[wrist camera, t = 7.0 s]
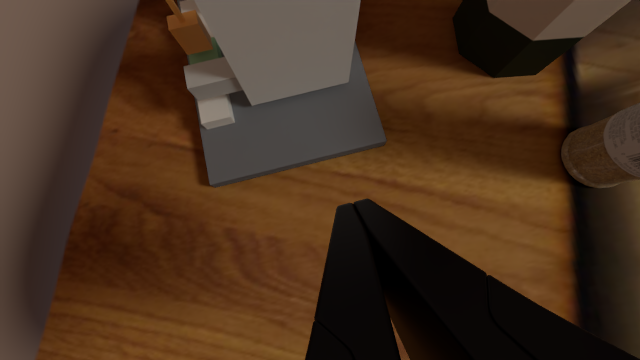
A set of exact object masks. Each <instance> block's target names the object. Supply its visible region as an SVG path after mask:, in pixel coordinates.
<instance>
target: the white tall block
mask: <svg viewBox="0 0 640 360" xmlns="http://www.w3.org/2000/svg"><path fill="white" fill-rule="evenodd" d="M194 1H195V3H196V5H197V7H198V8H199V10H200V12H201V14H202V16H203V17H204V19H205V21H206V23H207V25H208V27H209V28H210V30H211V32H212V34H213V36H214V38H215V39H216V41H217V43H218V45H219V47H220V48H221V50H222V52H223V54H224V56H225V57H222V58H217V59H213V60H209V61H205V62H200V63H196V64H192V65H188V66H183V67H184V73H185V79H186V84H187V89H188V90H189V91H190V92H191V93H192V94H193V96H194V97H195V98H196V99H197V100H198V101H199V100H204V99H208V98H212V97H216V96H220V95H225V94H229V93H233V92H237V91H241V90H244V92H245V94H246V96H247V98H248V100H249V101H250V103H251V105H252V106H253V105H257V104H261V103H265V102H269V101H274V100H278V99H282V98H286V97H290V96H294V95H298V94H303V93H307V92H311V91H315V90H319V89H323V88H327V87H332V86H336V85H340V84H344V83H348V82H349V76H350V69H351V62H352V55H353V49H354V42H355V35H356V28H357V22H358V15H359V8H360V2H361V0H194Z"/></svg>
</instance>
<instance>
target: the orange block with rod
mask: <svg viewBox="0 0 640 360" xmlns="http://www.w3.org/2000/svg"><path fill="white" fill-rule="evenodd" d="M165 1H166V2H167V4H168V5H169V7H170V8H171V10H172V11H173V13H174V14H175V15H170V16H167V22H168V28H169V31H170V32H171V34H172V35H173V36H174V38H175V39H176V40H177V42H178V43H179V44H180V46H181V47H182V48H183V50H184V51H185V53H186V54H187V55H190V54H194V53H199V52H203V51H207V50H211V49H213V46H212V41H211V37H210V35H209V33H208V31H207V29H206V28H205V26H204V24H203V22H202V21H201V19H200V17H199V15H198V14H197V12H196V10H192V11H188V12H184V13H181V11H180V10H179V8H178V7H177V5H176V4H175V2H174V0H165Z"/></svg>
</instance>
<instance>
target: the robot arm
mask: <svg viewBox="0 0 640 360" xmlns="http://www.w3.org/2000/svg"><path fill="white" fill-rule="evenodd" d="M390 318H391V319H390ZM314 319H315V321H314V322H313V326H312V331H311V336H310V340H309V345H308V349H307V353H306V357H305V360H401V358H400V354H399V350H398V346H397V342H396V339H395V335H394V331H393V327H392V323H391V320H392V322H393V324H394V326H395V328H396V331H397V333H398V335H399V337H400V339H401V341H402V343H403V345H404V348H405V350H406V352H407V354H408V356H409V358H410V360H640V359H638V358H636V357H635V356H633V355H631V354H629V353H627V352H625V351H623V350H621V349H619V348H618V347H616V346H614V345H612V344H610V343H608V342H606V341H604V340H602V339H601V338H599V337H597V336H595V335H593V334H591V333H589V332H587V331H586V330H584V329H582V328H580V327H578V326H576V325H574V324H573V323H571V322H569V321H567V320H565V319H563V318H562V317H560V316H558V315H556V314H554V313H553V312H551V311H549V310H547V309H545V308H544V307H542V306H540V305H538V304H537V303H535V302H533V301H532V300H530V299H528V298H527V297H525V296H523V295H522V294H520V293H518V292H517V291H515V290H513V289H512V288H510V287H508V286H507V285H505V284H504V283H502V282H500V281H499V280H497V279H496V278H494V277H492V276H491V275H488V276H487V274H486V272H484V271H483V270H481V269H479V268H478V267H476V266H475V265H473V264H471V263H470V262H468V261H467V260H465V259H464V258H462V257H460V256H459V255H457V254H456V253H454V252H452V251H451V250H449V249H448V248H446V247H445V246H443V245H441V244H440V243H438V242H437V241H435V240H433V239H432V238H430V237H429V236H427V235H425V234H424V233H422V232H421V231H419V230H418V229H416V228H414V227H413V226H411V225H410V224H408V223H406V222H405V221H403V220H402V219H400V218H399V217H397V216H395V215H394V214H392V213H391V212H389V211H387V210H386V209H384V208H383V207H381V206H379V205H378V204H376V203H375V202H373V201H372V200H370V199H363V200H359V201H356V202H354V204H352V203H348V204H344V205H340V206H338V207H337V209H336V214H335V219H334V224H333V228H332V233H331V238H330V243H329V248H328V253H327V258H326V263H325V268H324V273H323V278H322V283H321V288H320V292H319V297H318V302H317V307H316V312H315V317H314Z"/></svg>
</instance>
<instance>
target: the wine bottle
mask: <svg viewBox="0 0 640 360" xmlns="http://www.w3.org/2000/svg"><path fill="white" fill-rule="evenodd" d="M629 1H631V0H463V1H462V3H461V5H460V6H459V8H458V10H457V12H456V13H455V15H454V17H453V23H454V28H455V34H456V39H457V44H458V50H459V54H461V55H462V56H463V57H465V58H466V59H468V60H469V61H471V62H472V63H473V64H475V65H476V66H478V67H479V68H481V69H482V70H483V71H485V72H486V73H488V74H489V75H491V76H492V77H493V78H498V77H512V76H527V75H536V74H537V73H539V72H540V71H541V70H543V69H544V68H545V67H546V66H548V65H549V64H550V63H551V62H553V61H554V60H555V59H557V58H558V57H559V56H560V55H562V54H563V53H564V52H566V51H567V50H568V49H569V48H571V47H572V46H573V45H574V44H576V43H577V42H578V41H580V40H581V39H582V38H583V37H585V36H586V35H587V34H589V33H590V32H591V31H592V30H594V29H595V28H596V27H597V26H599V25H600V24H601V23H603V22H604V21H605V20H606V19H608V18H609V17H610V16H612V15H613V14H614V13H615V12H617V11H618V10H619V9H620V8H622V7H623V6H624V5H626V4H627V3H628V2H629Z"/></svg>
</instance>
